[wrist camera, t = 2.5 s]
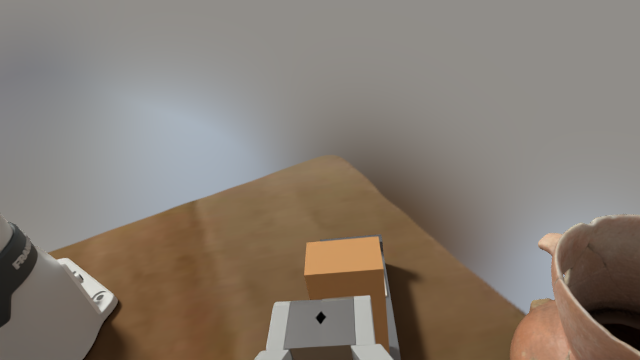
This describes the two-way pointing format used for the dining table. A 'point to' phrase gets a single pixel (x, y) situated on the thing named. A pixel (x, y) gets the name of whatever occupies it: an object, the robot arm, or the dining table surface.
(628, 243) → the ceramic jug
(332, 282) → the switch tab
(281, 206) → the dining table surface
